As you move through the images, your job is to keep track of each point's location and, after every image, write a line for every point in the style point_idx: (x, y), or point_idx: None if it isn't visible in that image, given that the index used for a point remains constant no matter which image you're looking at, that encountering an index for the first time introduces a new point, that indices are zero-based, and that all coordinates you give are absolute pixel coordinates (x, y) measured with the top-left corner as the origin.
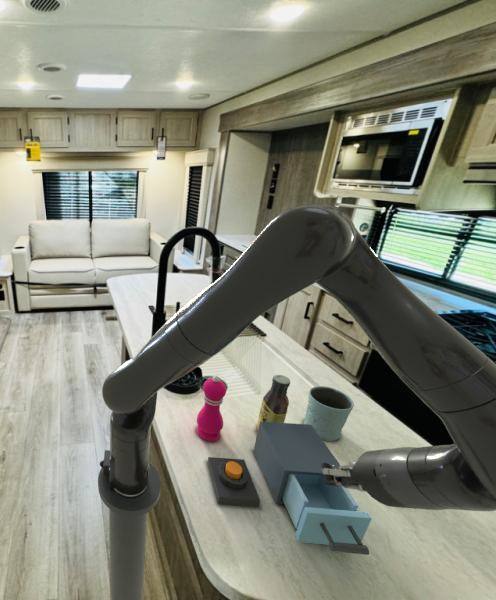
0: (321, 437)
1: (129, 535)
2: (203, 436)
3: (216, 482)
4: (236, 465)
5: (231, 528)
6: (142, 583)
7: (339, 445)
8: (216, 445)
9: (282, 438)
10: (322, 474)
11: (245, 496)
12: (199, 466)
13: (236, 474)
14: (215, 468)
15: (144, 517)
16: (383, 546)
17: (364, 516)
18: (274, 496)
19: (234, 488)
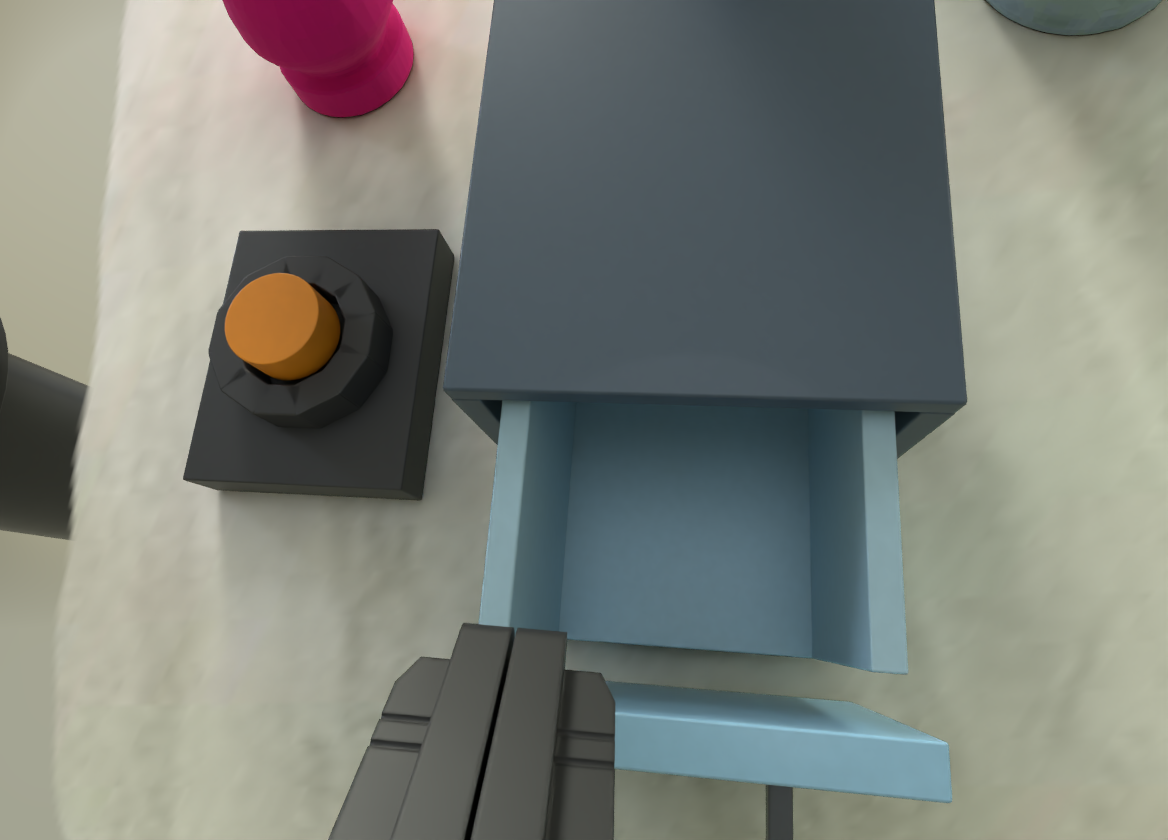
0: (1036, 16)
1: (38, 534)
2: (299, 93)
3: (210, 390)
4: (294, 300)
5: (225, 624)
6: None
7: (1133, 60)
8: (366, 140)
9: (594, 86)
10: (415, 674)
11: (329, 468)
12: (218, 279)
13: (262, 364)
14: None
15: (41, 493)
16: (1026, 708)
17: (897, 783)
18: None
19: (283, 426)
